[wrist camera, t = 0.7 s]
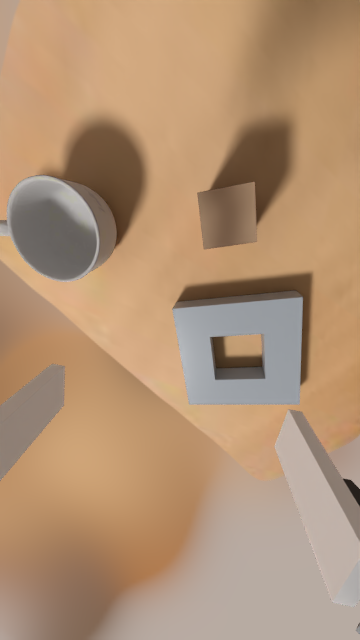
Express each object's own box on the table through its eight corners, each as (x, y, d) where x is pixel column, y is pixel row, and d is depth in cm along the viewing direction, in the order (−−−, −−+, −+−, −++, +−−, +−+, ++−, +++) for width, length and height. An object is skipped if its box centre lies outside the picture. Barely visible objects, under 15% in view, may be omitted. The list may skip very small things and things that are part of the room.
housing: (296, 290, 31) (302, 297, 28) (294, 390, 37) (299, 404, 34) (176, 301, 35) (172, 308, 32) (191, 391, 40) (189, 404, 38)
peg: (247, 191, 28) (254, 181, 21) (249, 236, 30) (257, 241, 22) (204, 199, 29) (197, 192, 22) (209, 242, 31) (203, 249, 23)
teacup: (132, 197, 30) (102, 190, 23) (120, 278, 35) (92, 294, 27) (30, 169, 31) (-29, 154, 24) (32, 252, 36) (-17, 261, 28)
